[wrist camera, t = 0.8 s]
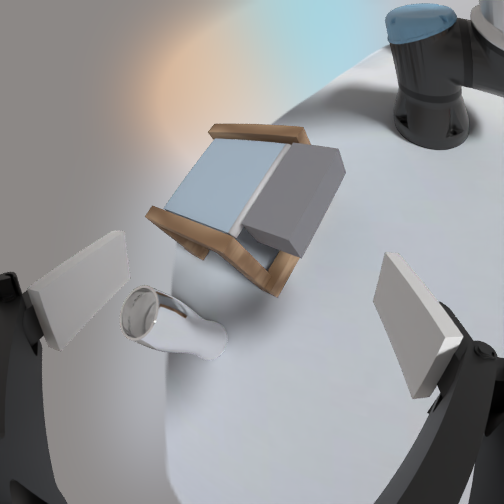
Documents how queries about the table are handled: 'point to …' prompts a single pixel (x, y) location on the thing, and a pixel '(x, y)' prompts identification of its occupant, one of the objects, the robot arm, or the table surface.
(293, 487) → the table surface
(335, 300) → the table surface
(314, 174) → the trapdoor
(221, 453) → the table surface
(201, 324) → the beer glass
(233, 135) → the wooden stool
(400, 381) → the table surface
